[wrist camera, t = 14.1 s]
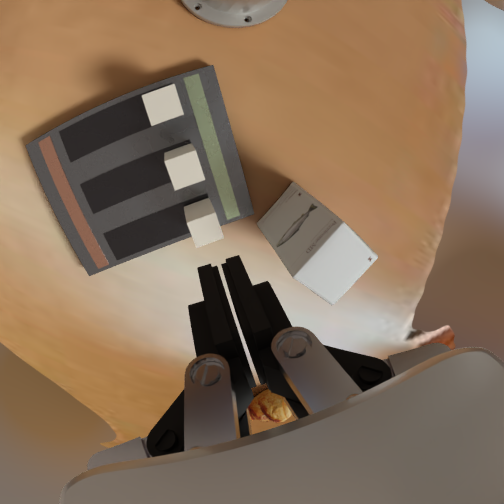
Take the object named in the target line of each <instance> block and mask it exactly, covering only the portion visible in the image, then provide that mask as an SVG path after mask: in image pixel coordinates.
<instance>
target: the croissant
mask: <svg viewBox="0 0 504 504" xmlns="http://www.w3.org/2000/svg"><path fill="white" fill-rule="evenodd" d="M248 410H249V416H250V421H252V420H259V421H266V422H268V421H273V422H276V423H280V422H283V421H286V420H287V419H288V418H289V417H290V416H291V415H292V413H291V411H290V410H289V408H288V407H287V405H286V403H285V402H284V400H283V398H282V396H280V395H277V394H274V393H271V391H270V390H269V389H267V390H265V391H263V392H261V393H260V394H258V395H257V396H255V397H254V399H253V400H252V402H251V403H250V405H249V406H248Z"/></svg>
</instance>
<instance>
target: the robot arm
mask: <svg viewBox="0 0 504 504" xmlns="http://www.w3.org/2000/svg"><path fill="white" fill-rule="evenodd" d="M181 1H182V3H183V5H184V6H185V7H186V8H187V9H188V10H189V11H190V12H191V13H192V14H194V15H195V16H196V17H198V18H199V19H201V20H203V21H205V22H207V23H210V24H214V25H217V26H222V27H228V28H242V27H250V26H253V25H257V24H260V23H262V22H264V21H266V20H268V19H270V18H271V17H273V16H274V15H276V14H277V13H278V12H279V11H280V10H281V9H282V8H283V6H284V5H285V4H286V2H287V0H181ZM485 1H486V2H488V3H489V4H491V5H493V6H495V7H497V8H499V9H501V10H503V11H504V0H485ZM196 7H199V8H200V9H199V10H196V9H195V8H196ZM244 19H247V20H248V22H245V21H244ZM221 265H222V268H223V272H224V275H225V279H226V282H227V285H228V289H229V292H230V295H231V299H232V302H233V305H234V309H235V312H236V315H237V318H238V321H239V324H240V327H241V330H242V333H243V336H244V338H245V341H246V344H247V347H248V350H249V353H250V356H251V358H252V361H253V364H254V367H255V370H256V372H257V375H258V378H259V381H260V383H261V385H262V384H265V383H267V386H268V389H269V390H270V391H271V393H274V394H277V395H280V396H282V398H283V400H284V402H285V403H286V405H287V407H288V408H289V410H290V411H291V413H292V414H293V416H294V417H295V419H296V420H295V421H293V422H290V423H287V424H284V425H281V426H278V427H275V428H272V429H269V430H266V431H263V432H260V433H256V434H253V435H252V431H251V423H250V416H249V410H248V406H249V405H250V403H251V402H252V400H253V399H254V397H253V396H254V395H253V392H252V389H251V388H253V387H256V383H255V380H254V378H253V375H252V372H251V369H250V366H249V363H248V360H247V357H246V354H245V351H244V348H243V345H242V342H241V339H240V336H239V333H238V330H237V327H236V324H235V320H234V317H233V314H232V311H231V308H230V305H229V302H228V299H227V296H226V293H225V289H224V286H223V283H222V280H221V277H220V274H219V270H218V267H217V266H214V267H212V266H211V264H208V265H205V266H201V267H198V273H199V278H200V283H201V288H202V292H203V297H204V301H201V302H198V303H195V304H191V305H188V309H189V316H190V322H191V328H192V334H193V340H194V345H195V351H196V356H197V358H195V359H193V360H192V361H191V362H190V363H189V365H188V366H187V368H186V371H185V387H184V390H183V391H182V392H181V394H180V395H179V396H178V397H177V399H176V400H175V401H174V402H173V404H172V405H171V406H170V408H169V409H168V410H167V411H166V413H165V414H164V415H163V416H162V418H161V419H160V420H159V421H158V423H157V424H156V425H155V426H154V427H153V429H152V430H151V431H150V433H149V435H148V436H147V437H145V438H140V437H138V438H135V439H133V440H130V441H128V442H125V443H123V444H120V445H117V446H114V447H112V448H109V449H106V450H103V451H101V452H98V453H96V454H94V455H93V456H92V457H91V458H90V460H89V462H88V471H86V472H83V473H81V474H80V475H78V476H76V477H74V478H73V479H72V480H70V481H69V482H68V483H67V484H66V485H65V486H64V488H63V490H62V492H61V496H60V501H59V504H504V362H503V361H502V360H501V359H500V358H499V357H497V356H496V355H495V354H494V353H492V352H490V351H489V350H487V349H484V348H479V347H467V348H460V349H455V350H450V348H449V347H448V346H446V345H444V344H441V343H432V344H429V345H426V346H422V347H419V348H415V349H412V350H408V351H405V352H401V353H397V354H394V355H390V356H388V359H384V360H381V359H378V358H375V357H370V356H366V355H362V354H358V353H353V352H349V351H345V350H341V349H337V348H333V347H329V346H325V345H323V344H322V343H321V342H320V341H319V340H318V338H317V337H316V336H315V335H314V334H313V333H312V332H311V331H310V330H308V329H305V328H303V327H292V325H291V323H290V321H289V319H288V318H287V316H286V314H285V312H284V310H283V308H282V306H281V304H280V302H279V300H278V298H277V297H276V295H275V293H274V291H273V289H272V287H271V285H270V283H269V282H268V281H266V282H263V283H260V284H257V285H253V286H252V283H251V281H250V279H249V277H248V274H247V272H246V270H245V268H244V265H243V263H242V261H241V258H240V256H239V255H238V256H234V257H231V258H228V259H226V263H224V264H221Z"/></svg>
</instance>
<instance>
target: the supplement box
mask: <svg viewBox="0 0 504 504" xmlns="http://www.w3.org/2000/svg"><path fill="white" fill-rule="evenodd" d="M257 225H258V227H259V228H260V230H261V231H262V233H263V234H264V236H265V237H266V239H267V240H268V241H269V243H270V244H271V246H272V247H273V249H274V250H275V251H276V253H277V255H278V256H279V258H280V259H281V261H282V262H283V264H284V265H285V267H286V268H287V270H288V271H289V273H290V274H291V276H292V277H293V278H294V279H296V280H297V281H299V282H300V283H302V284H303V285H304V286H306V287H307V288H309V289H310V290H311V291H313V292H314V293H315V294H317V295H318V296H320V297H321V298H322V299H324V300H325V301H326V302H328V303H329V304H331V305H334V304H335V303H336V302H337V301H338V300H339V299H340V298H341V297H342V296H343V295H344V294H345V293H346V291H347V290H348V289H349V288H350V287H351V286H352V285H353V284H354V283H355V282H356V281H357V280H358V279H359V278H360V277H361V276H362V274H363V273H364V272H365V271H366V270H367V269H368V268H369V267H370V266H371V265H372V264H373V262H374V261H375V260H376V259H377V258H378V256H377V254H376V253H375V252H374V251H373V250H372V249H371V248H370V247H369V246H368V245H367V244H366V243H365V242H364V241H363V240H362V239H361V238H360V237H359V236H358V235H357V234H356V233H355V232H354V231H353V230H352V229H351V228H350V227H349V226H348V225H347V224H346V223H345V222H344V221H342V220H341V219H340V218H339V217H338V216H337V215H335V214H334V213H333V212H332V211H330V210H329V209H328V208H327V207H326V206H324V205H323V204H322V203H321V202H319V201H318V200H317V199H315V198H314V197H313V196H312V195H310V194H309V193H308V192H306V191H305V190H304V189H303V188H301V187H300V186H299V185H297V184H296V183H295V182H292V183H291V185H290V186H289V187H288V188H287V190H286V191H285V192H284V193H283V194H282V196H281V197H280V198H279V199H278V200H277V201H276V203H275V204H274V205H273V206H272V207H271V208H270V209H269V210H268V212H267V213H266V214H265V215H264V216H263V217H262V218H261V219H260V220H259V221H258V222H257Z"/></svg>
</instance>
